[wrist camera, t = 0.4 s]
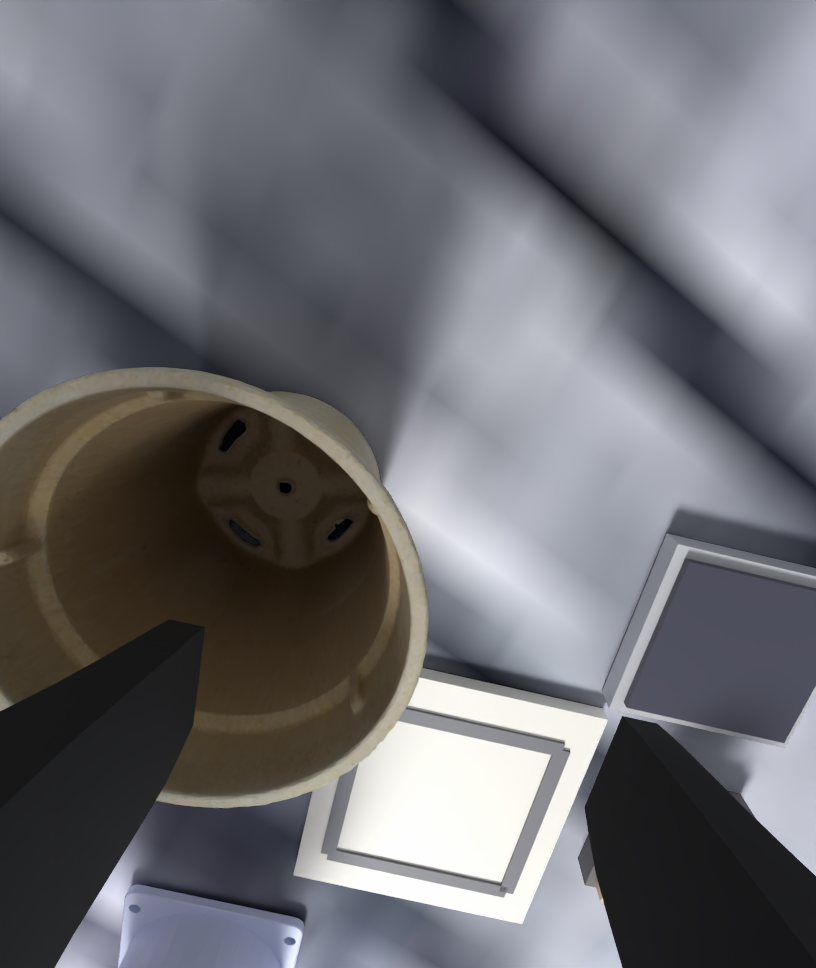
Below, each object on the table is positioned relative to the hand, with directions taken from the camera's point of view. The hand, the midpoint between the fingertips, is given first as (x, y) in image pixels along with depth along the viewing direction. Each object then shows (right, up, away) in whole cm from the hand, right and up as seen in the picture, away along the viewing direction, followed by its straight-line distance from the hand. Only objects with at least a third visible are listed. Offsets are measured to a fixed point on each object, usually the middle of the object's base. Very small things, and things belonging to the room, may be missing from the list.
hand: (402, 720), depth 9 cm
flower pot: (-4, +4, +10) cm, 11 cm away
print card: (+1, -8, +13) cm, 16 cm away
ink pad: (+11, -1, +10) cm, 15 cm away
